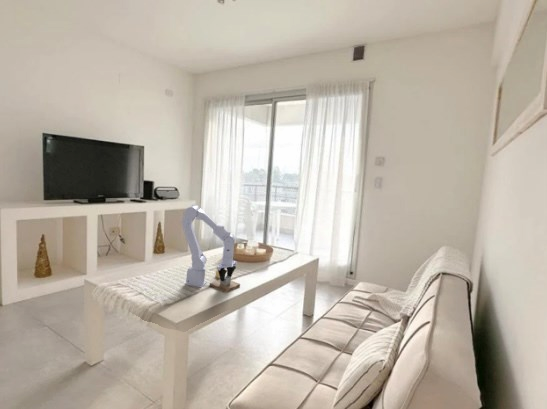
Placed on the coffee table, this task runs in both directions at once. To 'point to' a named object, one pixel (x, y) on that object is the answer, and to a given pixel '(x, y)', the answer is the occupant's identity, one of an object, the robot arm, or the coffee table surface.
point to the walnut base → (224, 288)
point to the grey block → (226, 280)
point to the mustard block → (217, 274)
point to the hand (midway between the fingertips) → (225, 279)
